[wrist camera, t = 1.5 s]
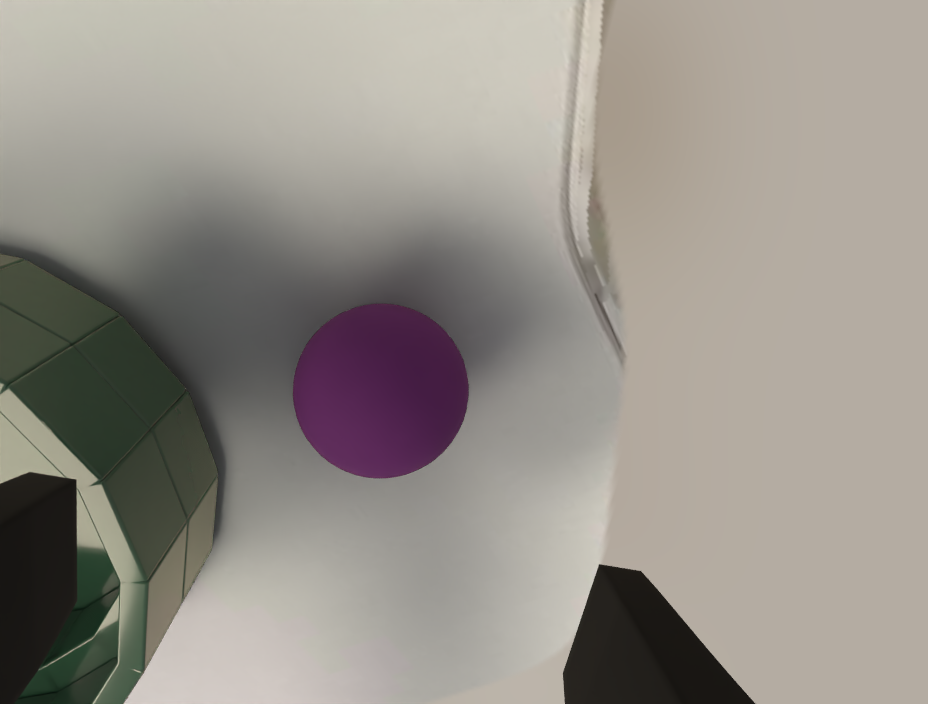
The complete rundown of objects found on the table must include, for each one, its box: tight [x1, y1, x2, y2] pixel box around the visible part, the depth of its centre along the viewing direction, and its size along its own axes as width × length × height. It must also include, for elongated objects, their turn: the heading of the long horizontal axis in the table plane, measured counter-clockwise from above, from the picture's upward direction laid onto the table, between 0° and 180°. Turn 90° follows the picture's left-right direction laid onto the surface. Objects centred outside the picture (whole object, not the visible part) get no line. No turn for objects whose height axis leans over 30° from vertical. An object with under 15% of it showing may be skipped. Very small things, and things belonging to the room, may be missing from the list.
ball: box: [293, 304, 469, 478], centre depth 16 cm, size 4×4×4 cm
